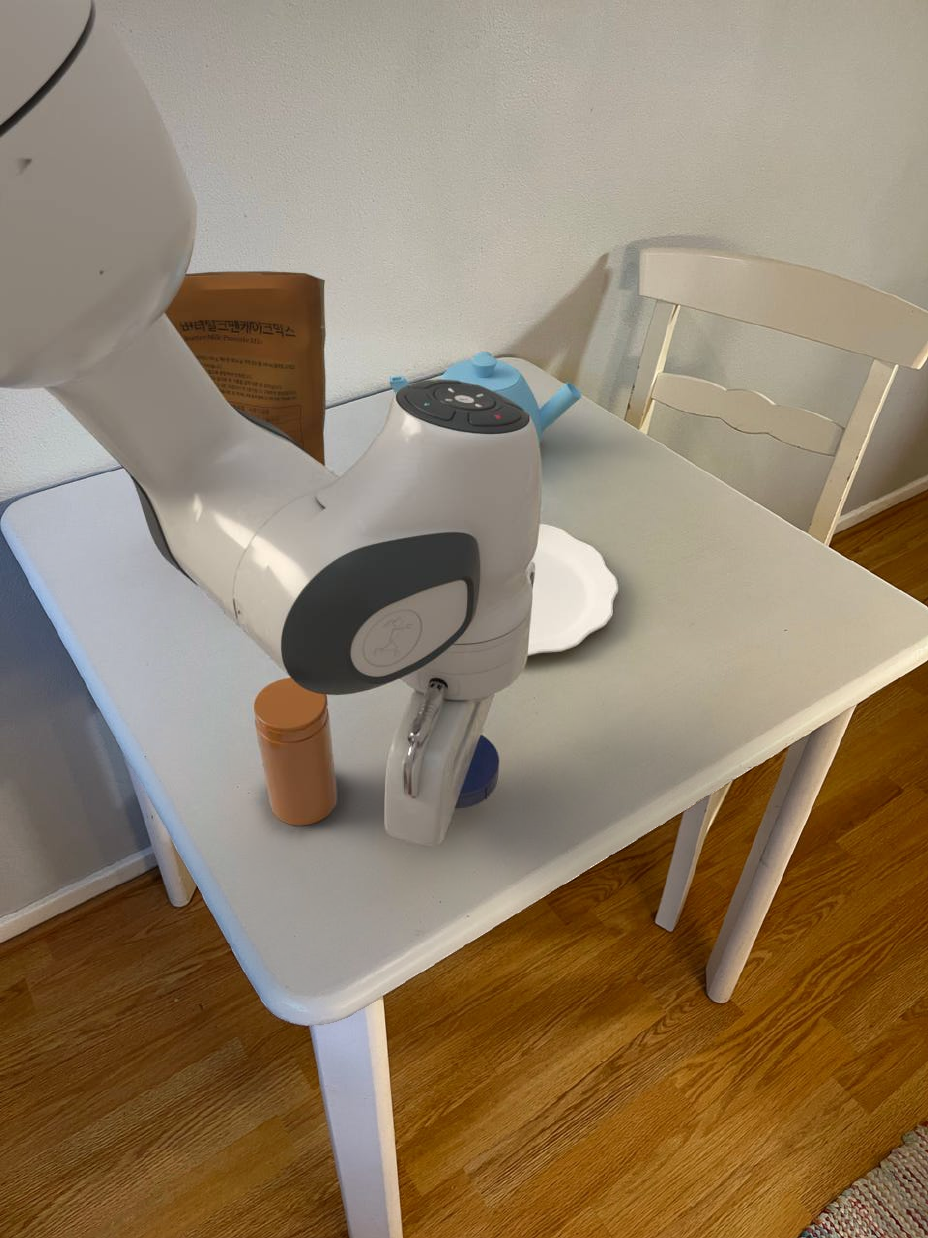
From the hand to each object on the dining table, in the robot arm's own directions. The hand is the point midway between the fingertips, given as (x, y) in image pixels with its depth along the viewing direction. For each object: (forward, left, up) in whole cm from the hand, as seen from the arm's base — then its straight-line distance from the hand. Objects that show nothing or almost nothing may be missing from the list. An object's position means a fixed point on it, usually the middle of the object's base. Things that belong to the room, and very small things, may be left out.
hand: (455, 775), depth 65 cm
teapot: (+25, +47, -4) cm, 53 cm away
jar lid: (0, 0, +1) cm, 1 cm away
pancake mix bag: (-5, +39, -4) cm, 40 cm away
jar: (-10, +5, -4) cm, 12 cm away
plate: (+15, +21, -4) cm, 26 cm away
